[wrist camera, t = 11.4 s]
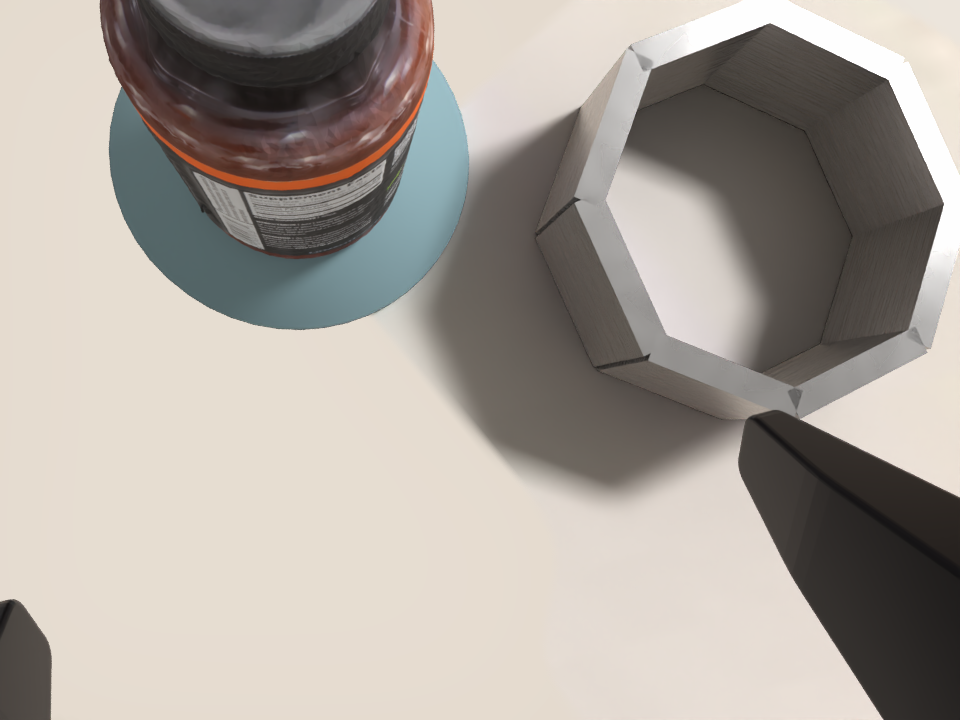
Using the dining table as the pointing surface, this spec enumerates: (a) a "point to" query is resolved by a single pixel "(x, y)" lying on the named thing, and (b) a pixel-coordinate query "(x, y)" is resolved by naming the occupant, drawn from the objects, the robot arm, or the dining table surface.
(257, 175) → the supplement bottle
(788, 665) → the dining table surface
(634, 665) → the dining table surface
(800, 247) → the dining table surface
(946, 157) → the grey octagonal bowl
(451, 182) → the teal mat
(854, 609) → the robot arm
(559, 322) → the dining table surface
